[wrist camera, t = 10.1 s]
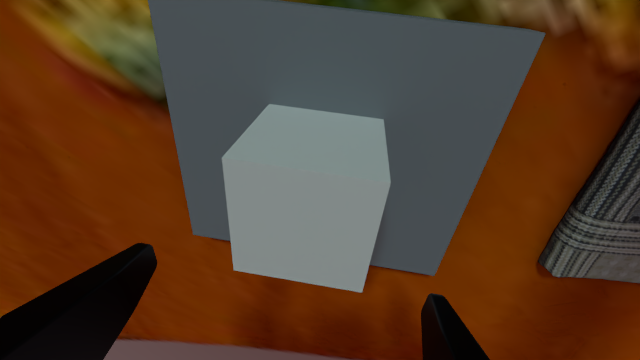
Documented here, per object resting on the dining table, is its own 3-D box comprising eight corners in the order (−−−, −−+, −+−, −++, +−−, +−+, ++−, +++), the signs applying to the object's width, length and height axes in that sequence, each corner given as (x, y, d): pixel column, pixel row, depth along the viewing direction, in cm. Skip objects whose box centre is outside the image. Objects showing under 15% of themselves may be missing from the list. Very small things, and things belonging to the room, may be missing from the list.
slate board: (527, 28, 12) (545, 33, 11) (430, 258, 20) (434, 275, 19) (166, -13, 14) (145, -13, 12) (203, 220, 21) (193, 234, 20)
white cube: (383, 119, 14) (390, 182, 9) (363, 210, 17) (361, 292, 12) (269, 103, 14) (221, 157, 10) (269, 195, 17) (233, 270, 13)
